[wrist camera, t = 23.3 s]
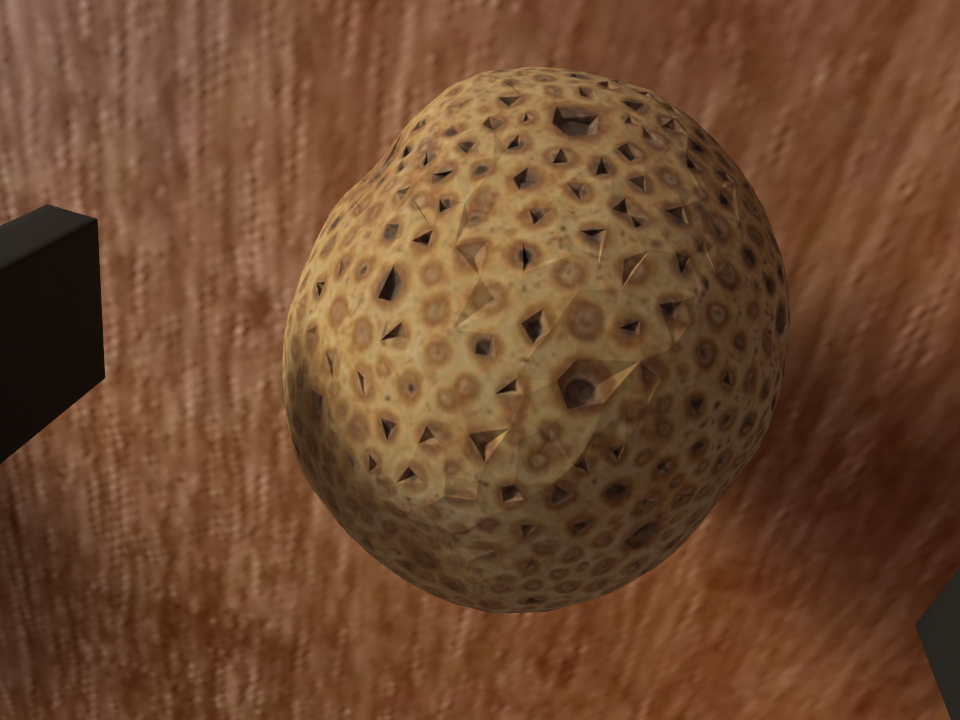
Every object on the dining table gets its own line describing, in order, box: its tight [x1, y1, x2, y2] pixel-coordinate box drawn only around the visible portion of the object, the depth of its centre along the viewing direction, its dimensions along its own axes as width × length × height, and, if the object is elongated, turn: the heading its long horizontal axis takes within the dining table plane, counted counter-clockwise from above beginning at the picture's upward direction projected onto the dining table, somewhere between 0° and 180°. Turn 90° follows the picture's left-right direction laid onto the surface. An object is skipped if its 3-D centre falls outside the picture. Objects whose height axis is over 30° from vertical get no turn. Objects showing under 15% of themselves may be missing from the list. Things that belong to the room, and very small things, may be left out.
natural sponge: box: [282, 67, 790, 613], centre depth 14 cm, size 9×9×10 cm
